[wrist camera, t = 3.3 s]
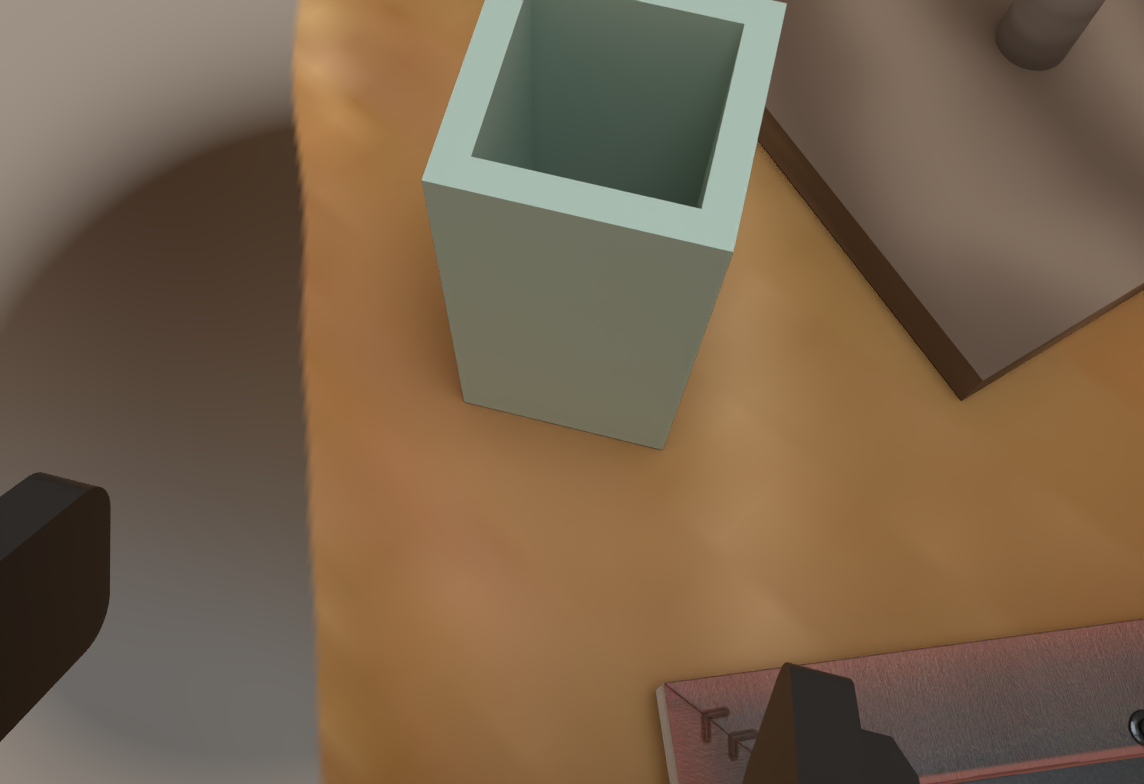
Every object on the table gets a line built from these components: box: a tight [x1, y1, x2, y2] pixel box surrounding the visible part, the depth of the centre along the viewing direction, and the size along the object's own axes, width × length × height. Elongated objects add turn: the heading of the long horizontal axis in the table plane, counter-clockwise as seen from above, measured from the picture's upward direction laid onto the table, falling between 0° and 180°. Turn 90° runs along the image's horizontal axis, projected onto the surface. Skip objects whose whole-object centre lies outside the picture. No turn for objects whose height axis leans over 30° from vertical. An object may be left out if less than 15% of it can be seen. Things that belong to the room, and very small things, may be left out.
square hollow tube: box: [422, 0, 787, 450], centre depth 24 cm, size 6×6×11 cm
